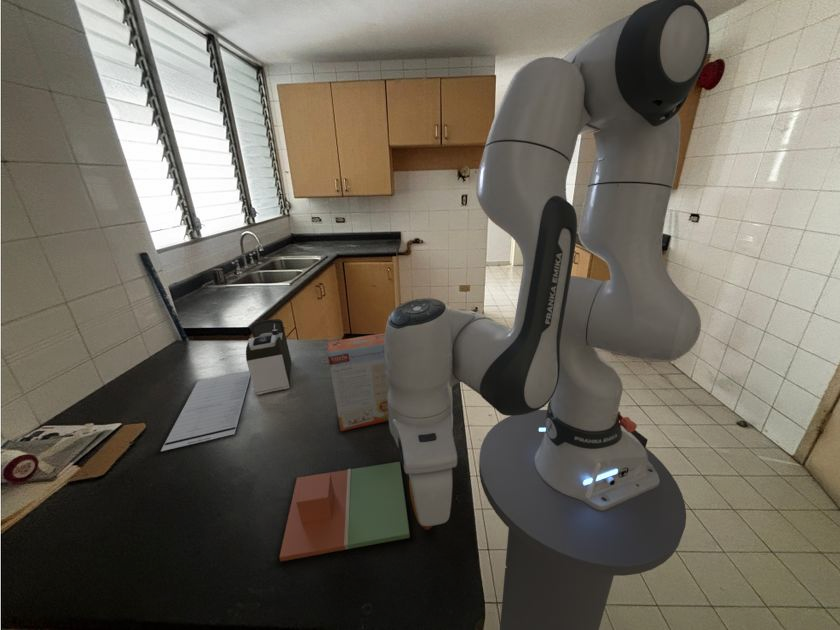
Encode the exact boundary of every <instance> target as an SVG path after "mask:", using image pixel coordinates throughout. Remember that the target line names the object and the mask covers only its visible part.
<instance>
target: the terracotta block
mask: <svg viewBox="0 0 840 630" xmlns="http://www.w3.org/2000/svg"><path fill="white" fill-rule="evenodd" d="M327 473H328V474H324V473H320V474H321V475H317V474H314V475H315V476H311V475H307V476H308V477H304V476H301V477H302V478H301V482H300V487H299V492H298V497H297V502H296V503H297V507H298V511H299V515H300V519H301V523H302V524H303V523H309V522H315V521H321V520H326V519H332V514H333V503H334V489H333V483H332V478H331V473H330V472H327Z"/></svg>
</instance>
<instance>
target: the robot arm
mask: <svg viewBox="0 0 840 630" xmlns="http://www.w3.org/2000/svg"><path fill="white" fill-rule="evenodd" d="M710 33H711V32H710V26H709V20H708V18H707V15H706V13H705V11H704V10H703V7H701V5H699V3H698V2H697V1H696V0H652V1H650V2H648V3H646V4H643V5H642V6H639V7H638V8H637V9H636V10H634V11H633V12H632V14H629V15H627V16H625V17H623V18H620V19H618V20H617V21H614V22H613V23H611V24H609V25H607V26H605V27H604V28H602V29H600V30H598V31H597V32H595V33H593V34H592V35H591V36H589V37H588V38H587V39H585V41H584V42H582V43H581V44H579V45H578V46H577V47H575V48H574V49H572V50H571V51H570V52H569V53H567V54H566V55H565V56H564V57H562V58H560V57H555V56H554V57H553V56H543V57H539V58H535V59H532V60H530V61H528V62H527V63H525V64H523V65H522V66H520V68H518V70H516V72H515V73H514V74H513V76H512V78H511V79H510V81H509V83H508V85H507V87H506V90H505V91H504V94H503V96H502V98H501V100H500V103H499V105H498V108H497V110H496V112H495V115H494V118H493V120H492V123H491V126H490V129H489V132H488V134H487V135H488V136H487V139H486V142H485V146H484V149H483V153H482V155H481V160H480V162H479V167H478V170H477V175H476V176H477V177H476V186H475V187H476V188H475V191H476V192H475V193H476V198H477V201H478V203H479V205H480V208H481V209H482V211H483V213H484V214H485V215H486V217H487V218H488V219H489V220H490V221H491V222H492V224H494V225H496V226H497V227H499V229H501V230H503V231H504V233H507V235H509V236H510V237H512V239H513V240H514V241H515V242H516V244H517V246H518V247H519V250H520V252H521V256H522V273H521V279H520V285H519V291H518V297H517V303H516V310H515V315H514V322H513V325H512V327H510V326H507V325H506V324H503V323H500V322H498V321H496V320H494V319H492V318H490V317H488V316H485V315H483V314H481V313H478V312H476V311H473V310H469V309H456V308H453V307H451V306H449V305H447V304H446V303H444V302H443V301H442V300H440V299H437V298H430V297H429V298H415V299H411V300H408V301H405V302H403V303H401V304H400V305H398V306H396V307H395V308H394V309H393V310H392V311H391V312H390V314H389V316H388V319H387V320H386V325H385V331H384V333H385V341H384V356H385V373H386V377H387V379H388V381H389V390H388V395H387V402H388V417H389V421H388V429H389V432H390V434H391V436H392V437H393V439H394V443H395V444H396V446H397V448H398V452H399V454H400V455H399V456H400V459H401V464H402V466H403V471H404V473H405V474H406V475H408V477H409V480H410V482H411V487H412V492H413V497H414V502H415V508H416V513H417V517H418V521H419V523H420V524H421V525H422V526H432V527H434V526H438V525H442V524H445V523H447V522H448V521H449V520H450V517H451V509H452V501H453V500H452V498H453V485H454V484H453V482H454V481H453V480H454V479H453V468H457V465H458V452H457V446H456V441H455V435H454V430H453V427H454V424H453V423H454V415H453V387H454V386H455V385H457V384H459V383H462V384H464V385H465V386H467V387H468V388H470V389H471V390H472V391H474V392H475V393H477V394H479V395H480V397H481V398H482V399H483V400H485V402H487V403H488V404H489V405H490V406H492V408H494V409H495V410H496V411H497V412H498V413H499V414H501V415H503V416H507V417H509V416H516V415H524V414H528V413H531V412H534V411H537V410H542V409H543V408H544V407H545V406H546V405H547V409H546V410H547V414H546V425H545V427H546V428H539V431H545V434H544V437H543V440H542V442H541V445H540V447H539V449H538V451H537V452H536V455H535V466H536V469H537V471H538V473H539V474H540V476H541V477H542V478H543V480H544V481H545V482H546V483H547V484H549V485H550V486H551V487H552V488H554V489H555V490H557V491H559V492H561V493H563V494H565V495H567V496H570V497H573V498H576V499H579V500H582V501H584V502H585V503H587V504H588V505H590V506H592V507H593V508H595V509H597V510H601V511H602V510H606V509H608V508H610V507H613V506H615V505H617V504H619V503H622V502H624V501H626V500H628V499H630V498H633V497H635V496H637V495H639V494H642V493H644V492H646V491H648V490H651V489H653V488H655V487H657V486H659V482H660V480H659V476H658V474H657V472H656V470H655V468H654V467H653V466H652V464H651V463H650V462H649V461H648V456H647V453H646V450H645V448H647V444H648V438H646V437H645V436H644V435H642V434H641V433H640V432H639V431H637V430H636V429H637V428H638V425H637V423H635V422H634V421H633V420H631V418H630V417H628V416H623V415H622V414H621V412H620V411H619V409H620V404H621V400H622V395H623V391H624V385H623V380H622V378H621V376H620V374H619V372H618V371H617V369H616V368H615V367H614V366H613V365H612V364H611V363H610V362H609V361H607V360H606V359H605V358H604V357H602V355H601V354H599V353H598V351H597V349H600V350H603V351H606V352H611V353H614V354H616V355H617V354H618V355H621V356H625V357H628V358H632V359H638V360H647V361H656V362H669V363H671V362H674V361H676V360H678V359H680V358H682V357H683V356H685V355H686V354H688V352H690V351H691V350H692V349H693V348H694V346H695V345H696V344H697V341H698V340H699V337H700V335H701V331H702V330H701V329H702V320H701V315H700V312H699V309H698V308H697V306H696V305H695V304H694V302H693V301H692V299H690V298H689V297H688V296H687V295H685V293H684V292H682V291H681V290H680V288H679V287H678V285H677V284H675V282H674V280H673V279H672V277H671V276H670V274H669V272H668V270H667V268H666V263H665V261H664V257H663V234H664V228H665V223H666V217H667V212H668V208H669V207H668V206H669V203H670V199H671V195H672V191H673V187H674V183H675V179H676V174H677V170H678V169H677V167H678V164H679V163H678V162H679V155H680V145H681V144H680V143H681V119H680V116H679V113H678V112H679V111H681V109H682V107H683V106H684V104H685V103H686V101H687V99H688V97H689V94H690V93H691V92H692V90H693V88H695V85H696V83H697V81H698V79H699V77H700V75H701V73H702V70H703V68H704V66H705V63H706V60H707V58H708V53H709V49H710V48H709V47H710V36H711V35H710ZM591 133H593V137H594V142H595V149H596V150H595V155H594V159H593V161H592V164H591V168H590V172H589V176H588V180H587V185H586V189H585V194H584V199H583V205H582V208H581V209H582V210H581V214H580V220H579V225H578V217H577V213H576V209H575V207H574V206H573V205H572V203H570V202H569V201H568V199H567V179H568V174H569V170H570V167H571V163H572V161H573V160H572V159H573V157H574V153H575V149H576V145H577V142H578V137H579V135H586V134H591ZM577 235H578V239H579V242H580V243H581V245H582V246H583V248H585V249H586V250H587V251H588V252H590V253H591V254H593V255H594V256H596V257H597V258H599V259H600V260H602V261H603V262H605V263H606V265H607V266H608V270H609V275H610V276H609V280H608V279H607V280H603V279H597V278H590V277H584V276H583V277H582V276H577V275H572V272H573V271H572V270H573V265H574V259H575V253H576V244H577ZM603 500H605V501H603ZM418 521H417V522H418ZM419 523H418V524H419ZM420 524H419V525H420ZM422 526H421V527H422Z"/></svg>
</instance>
